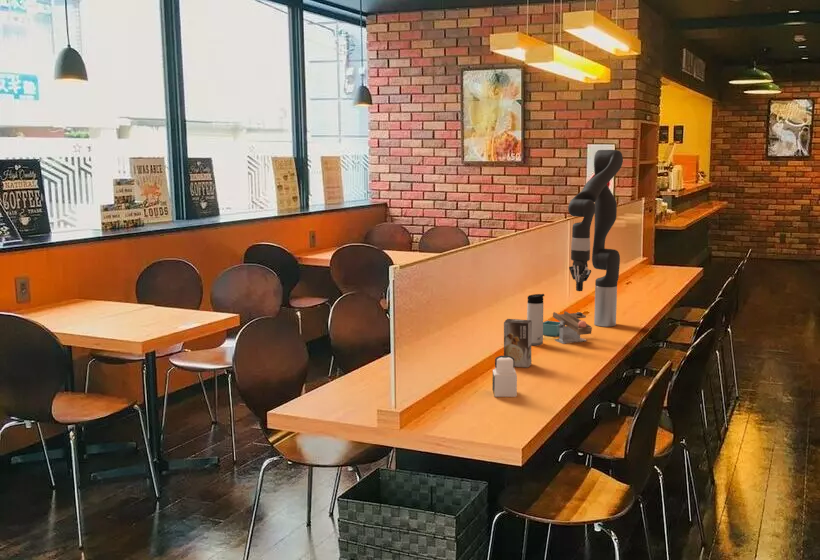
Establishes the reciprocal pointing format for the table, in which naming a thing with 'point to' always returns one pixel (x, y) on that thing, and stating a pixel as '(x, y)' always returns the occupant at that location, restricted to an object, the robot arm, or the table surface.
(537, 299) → the travel mug
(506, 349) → the coffee box
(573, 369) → the table surface
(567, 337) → the fulcrum
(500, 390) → the medicine bottle
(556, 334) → the teal square bin
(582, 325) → the ball
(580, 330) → the lever
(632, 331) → the table surface
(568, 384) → the table surface
